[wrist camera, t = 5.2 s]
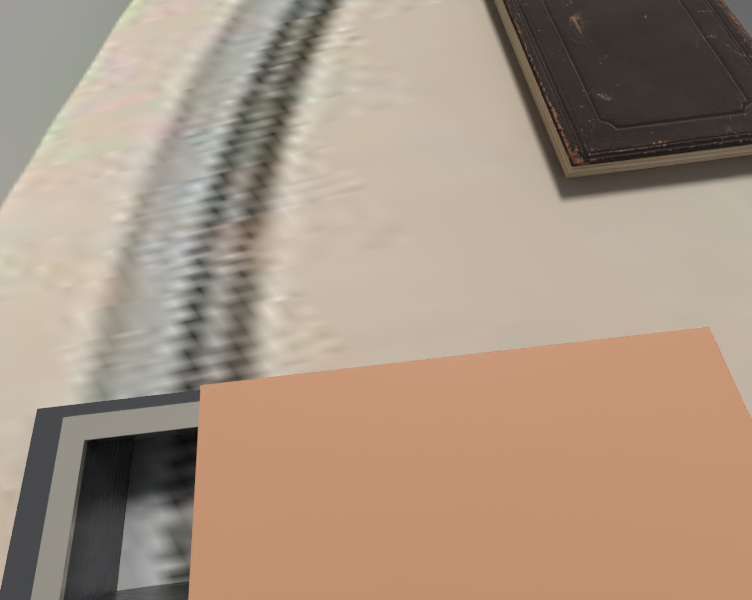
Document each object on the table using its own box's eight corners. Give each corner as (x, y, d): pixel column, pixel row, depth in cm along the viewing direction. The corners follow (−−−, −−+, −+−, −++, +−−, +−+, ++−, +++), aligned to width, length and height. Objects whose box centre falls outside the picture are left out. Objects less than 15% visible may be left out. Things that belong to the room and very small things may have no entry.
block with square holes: (53, 643, 15) (-26, 692, 12) (89, 414, 18) (33, 408, 15) (534, 576, 16) (570, 607, 13) (487, 367, 19) (507, 353, 16)
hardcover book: (556, 188, 24) (574, 162, 22) (472, -31, 32) (478, -65, 30) (791, 158, 25) (831, 130, 22) (650, -48, 33) (669, -83, 31)
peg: (353, 551, 13) (137, 1491, 1) (344, 434, 15) (200, 385, 3) (462, 536, 14) (1140, 1264, 2) (443, 422, 15) (708, 326, 3)
